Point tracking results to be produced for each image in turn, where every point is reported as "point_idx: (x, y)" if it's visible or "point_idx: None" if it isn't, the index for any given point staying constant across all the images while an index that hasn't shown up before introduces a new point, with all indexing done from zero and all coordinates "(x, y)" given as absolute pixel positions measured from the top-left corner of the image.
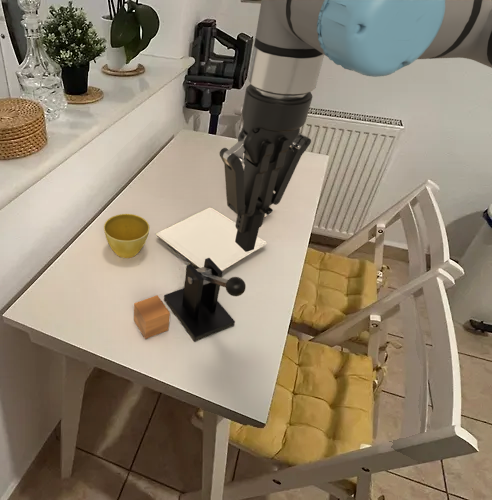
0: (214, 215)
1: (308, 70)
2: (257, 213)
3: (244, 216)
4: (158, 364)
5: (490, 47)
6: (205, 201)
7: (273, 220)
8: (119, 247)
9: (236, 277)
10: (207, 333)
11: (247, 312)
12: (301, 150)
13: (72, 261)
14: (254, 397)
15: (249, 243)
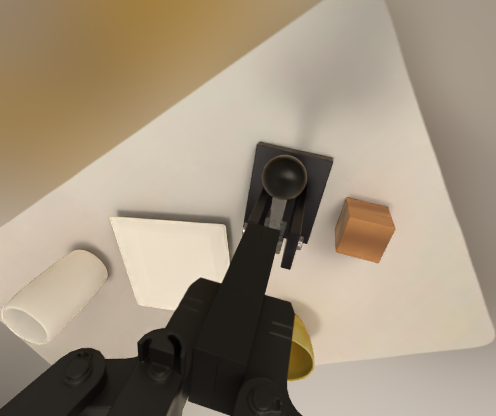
0: (142, 292)
1: None
2: (214, 363)
3: (285, 388)
4: (411, 162)
5: None
6: (135, 312)
7: (73, 238)
8: (307, 338)
9: (275, 191)
10: (309, 155)
11: (222, 146)
12: None
13: (356, 350)
14: (344, 11)
15: (268, 248)
